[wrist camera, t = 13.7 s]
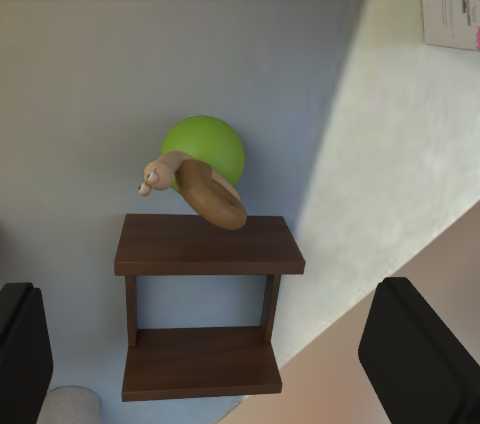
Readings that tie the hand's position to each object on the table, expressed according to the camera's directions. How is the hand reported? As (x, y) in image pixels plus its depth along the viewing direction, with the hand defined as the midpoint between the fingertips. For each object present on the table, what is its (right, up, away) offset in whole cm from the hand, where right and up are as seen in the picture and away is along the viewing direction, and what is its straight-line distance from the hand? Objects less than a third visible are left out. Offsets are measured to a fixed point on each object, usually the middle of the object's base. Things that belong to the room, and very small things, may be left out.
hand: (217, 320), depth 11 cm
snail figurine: (-3, +8, +17) cm, 19 cm away
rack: (-2, -3, +22) cm, 23 cm away
